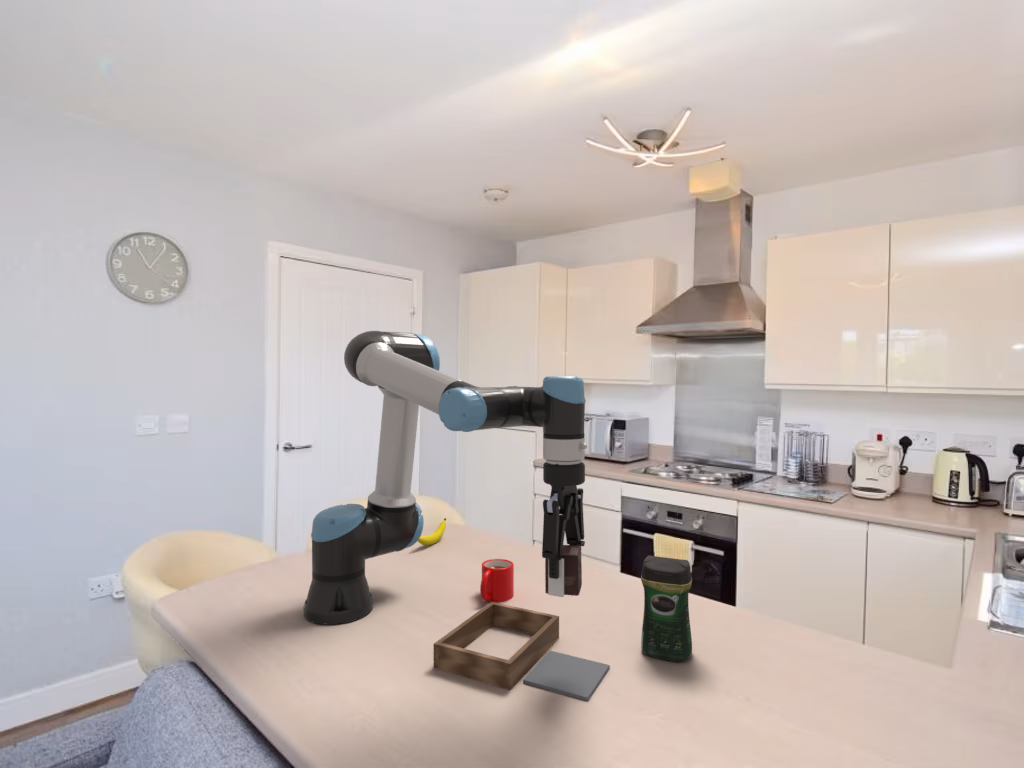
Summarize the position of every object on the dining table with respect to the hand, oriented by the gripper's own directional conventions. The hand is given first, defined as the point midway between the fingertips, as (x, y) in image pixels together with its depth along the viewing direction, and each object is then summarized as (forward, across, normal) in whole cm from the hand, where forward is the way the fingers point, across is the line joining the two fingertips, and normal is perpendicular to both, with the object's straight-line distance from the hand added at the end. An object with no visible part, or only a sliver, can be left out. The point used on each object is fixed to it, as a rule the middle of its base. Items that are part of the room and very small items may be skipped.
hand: (564, 587), depth 103 cm
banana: (+15, +54, +68) cm, 88 cm away
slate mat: (+16, 0, 0) cm, 16 cm away
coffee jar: (+16, +17, -14) cm, 28 cm away
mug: (+16, +25, +29) cm, 41 cm away
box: (+1, 0, 0) cm, 1 cm away
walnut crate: (+16, +2, +14) cm, 21 cm away
